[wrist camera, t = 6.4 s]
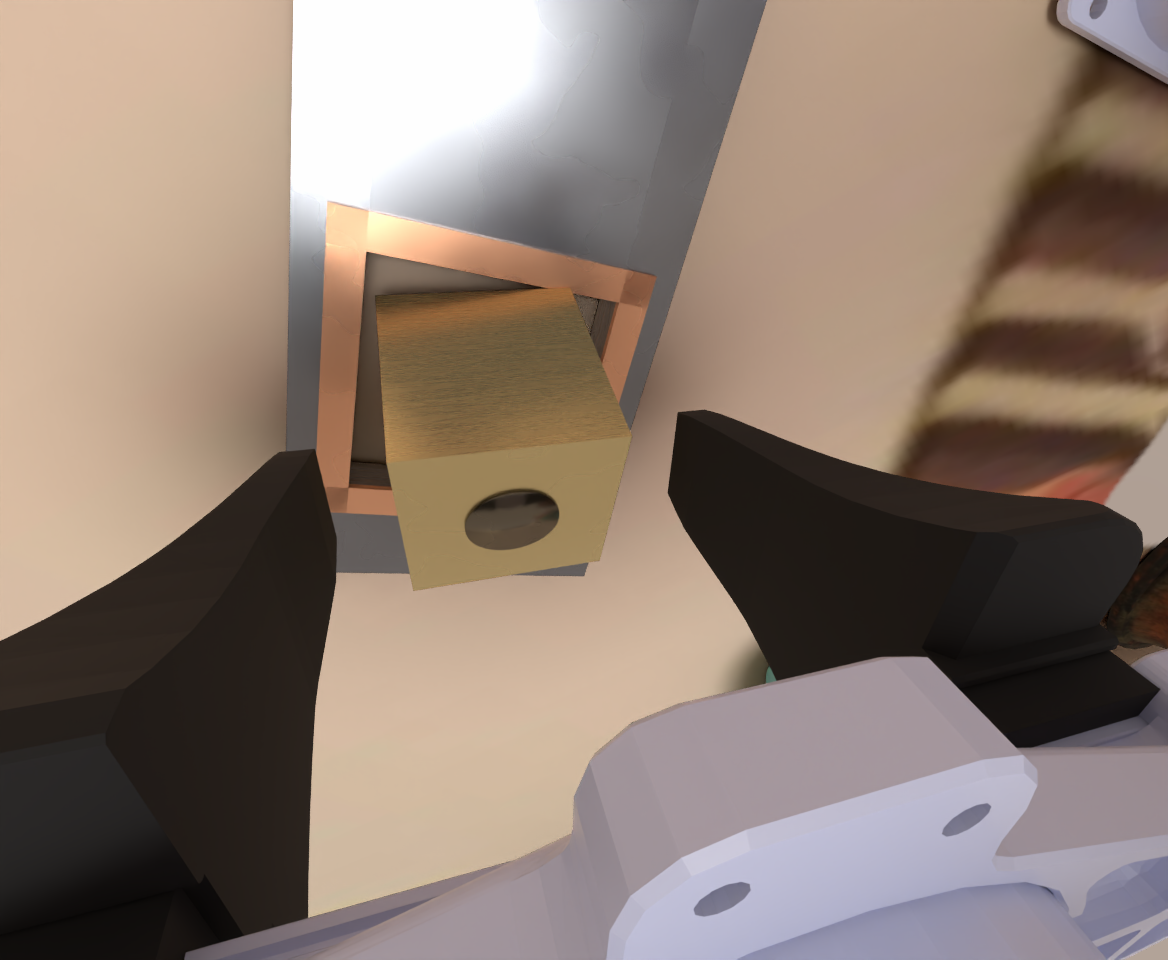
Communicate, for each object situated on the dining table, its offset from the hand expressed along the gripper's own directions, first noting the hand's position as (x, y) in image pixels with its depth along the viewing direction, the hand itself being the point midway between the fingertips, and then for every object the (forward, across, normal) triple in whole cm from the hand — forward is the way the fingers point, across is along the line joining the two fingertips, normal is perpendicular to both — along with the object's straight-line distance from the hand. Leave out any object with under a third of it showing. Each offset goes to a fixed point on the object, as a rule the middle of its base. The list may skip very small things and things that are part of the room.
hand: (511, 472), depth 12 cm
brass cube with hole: (+5, 0, 0) cm, 5 cm away
